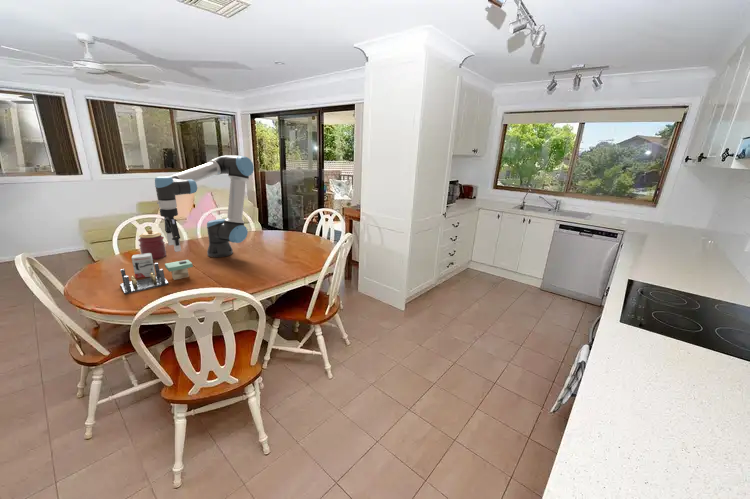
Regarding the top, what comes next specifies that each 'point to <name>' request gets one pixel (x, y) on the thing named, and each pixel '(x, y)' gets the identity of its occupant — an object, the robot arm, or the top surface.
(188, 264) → the board
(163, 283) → the chassis
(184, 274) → the block
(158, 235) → the canister
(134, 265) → the ink box
